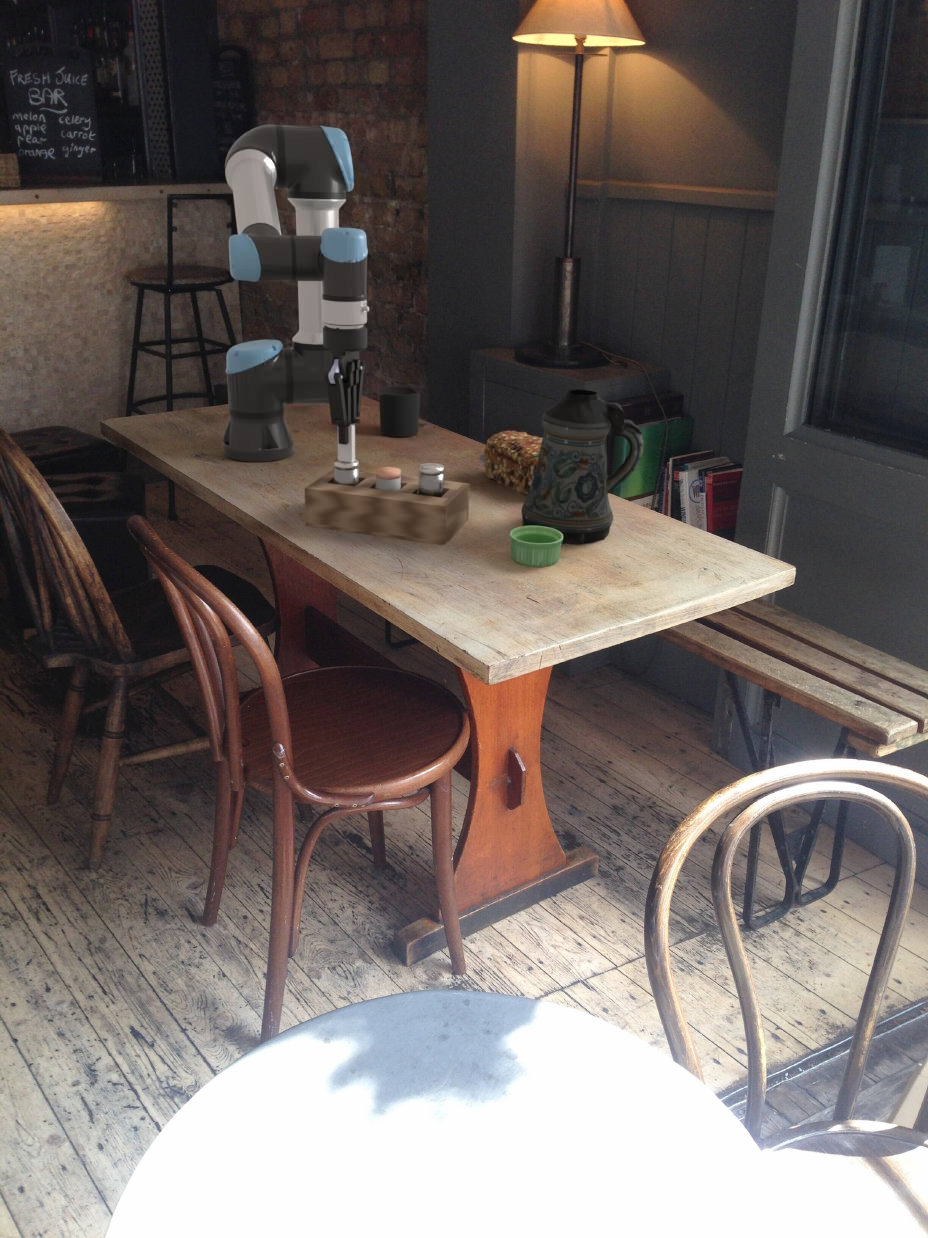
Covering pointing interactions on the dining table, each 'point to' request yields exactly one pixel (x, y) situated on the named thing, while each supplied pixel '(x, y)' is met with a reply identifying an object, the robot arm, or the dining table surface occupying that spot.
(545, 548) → the ramekin
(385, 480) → the plug terracotta
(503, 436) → the bread
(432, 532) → the block
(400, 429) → the pen holder
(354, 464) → the plug
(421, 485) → the plug
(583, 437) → the beer stein
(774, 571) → the dining table surface
